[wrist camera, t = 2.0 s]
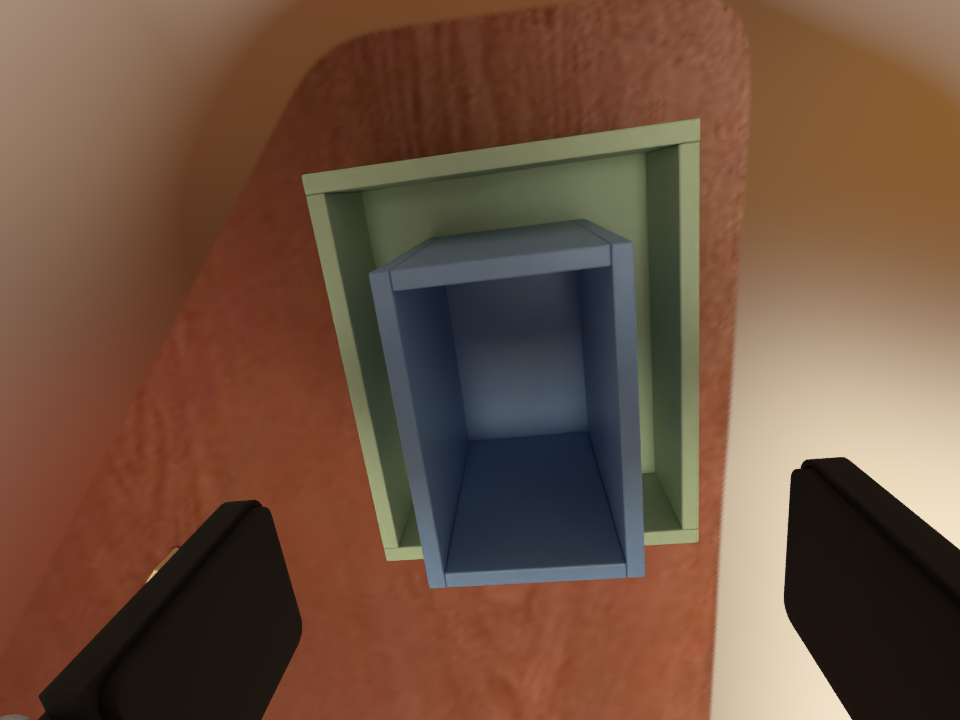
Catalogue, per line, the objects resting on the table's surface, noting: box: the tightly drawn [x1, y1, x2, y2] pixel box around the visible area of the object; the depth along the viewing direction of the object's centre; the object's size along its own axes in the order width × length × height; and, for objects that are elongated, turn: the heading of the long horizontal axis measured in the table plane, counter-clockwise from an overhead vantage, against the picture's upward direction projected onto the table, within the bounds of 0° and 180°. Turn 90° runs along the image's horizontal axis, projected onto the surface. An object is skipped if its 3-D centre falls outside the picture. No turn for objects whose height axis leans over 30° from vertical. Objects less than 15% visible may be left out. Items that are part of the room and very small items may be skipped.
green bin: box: [302, 118, 700, 561], centre depth 21 cm, size 14×12×8 cm
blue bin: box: [369, 219, 645, 588], centre depth 17 cm, size 9×6×8 cm, turn 7°
